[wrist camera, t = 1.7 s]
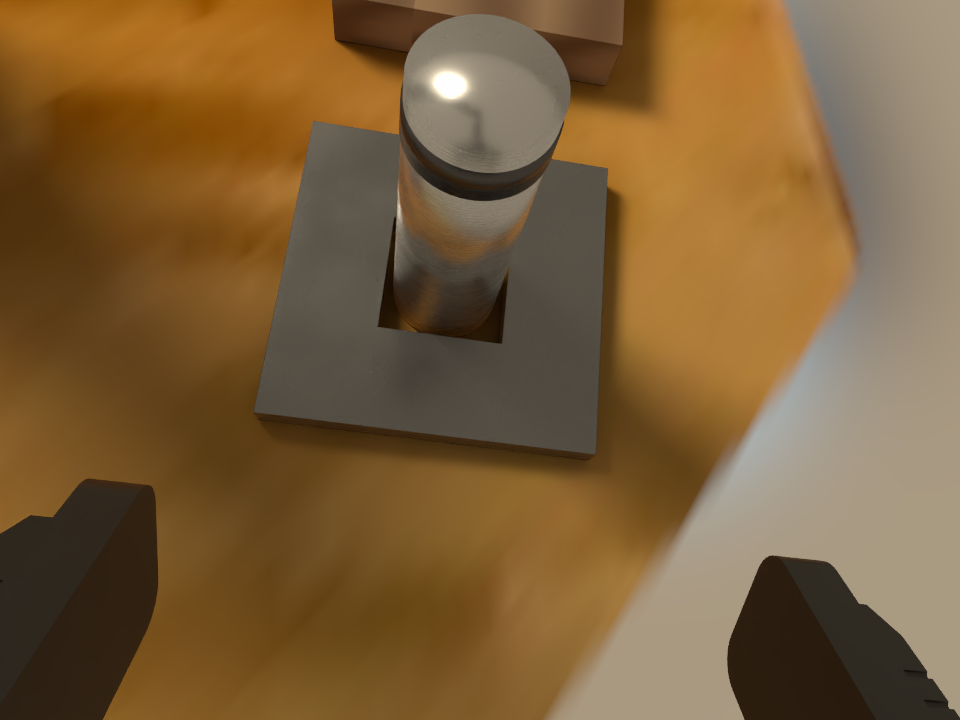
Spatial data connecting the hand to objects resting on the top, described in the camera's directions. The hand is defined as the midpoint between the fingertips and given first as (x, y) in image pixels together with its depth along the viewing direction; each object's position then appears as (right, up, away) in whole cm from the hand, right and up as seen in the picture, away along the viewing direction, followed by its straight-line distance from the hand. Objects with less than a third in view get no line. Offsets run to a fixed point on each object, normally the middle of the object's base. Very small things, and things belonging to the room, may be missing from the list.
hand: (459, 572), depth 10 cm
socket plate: (-1, +6, +19) cm, 20 cm away
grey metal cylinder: (-1, +5, +19) cm, 20 cm away
